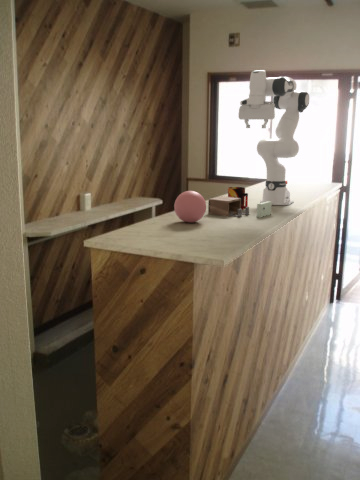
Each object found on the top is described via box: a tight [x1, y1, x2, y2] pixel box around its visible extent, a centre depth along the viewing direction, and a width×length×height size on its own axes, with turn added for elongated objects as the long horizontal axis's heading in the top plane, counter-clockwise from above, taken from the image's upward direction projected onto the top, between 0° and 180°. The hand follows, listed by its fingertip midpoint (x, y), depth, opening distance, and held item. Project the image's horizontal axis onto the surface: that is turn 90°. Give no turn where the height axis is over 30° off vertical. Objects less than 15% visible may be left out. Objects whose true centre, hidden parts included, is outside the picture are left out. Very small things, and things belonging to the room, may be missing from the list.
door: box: [256, 201, 273, 218], centre depth 258 cm, size 12×3×7 cm, turn 144°
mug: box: [227, 186, 249, 211], centre depth 278 cm, size 10×14×12 cm
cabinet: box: [207, 196, 250, 218], centre depth 262 cm, size 14×18×8 cm
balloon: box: [173, 190, 207, 224], centre depth 238 cm, size 15×20×15 cm
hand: (255, 128), depth 265 cm, fingers open, 8 cm apart
